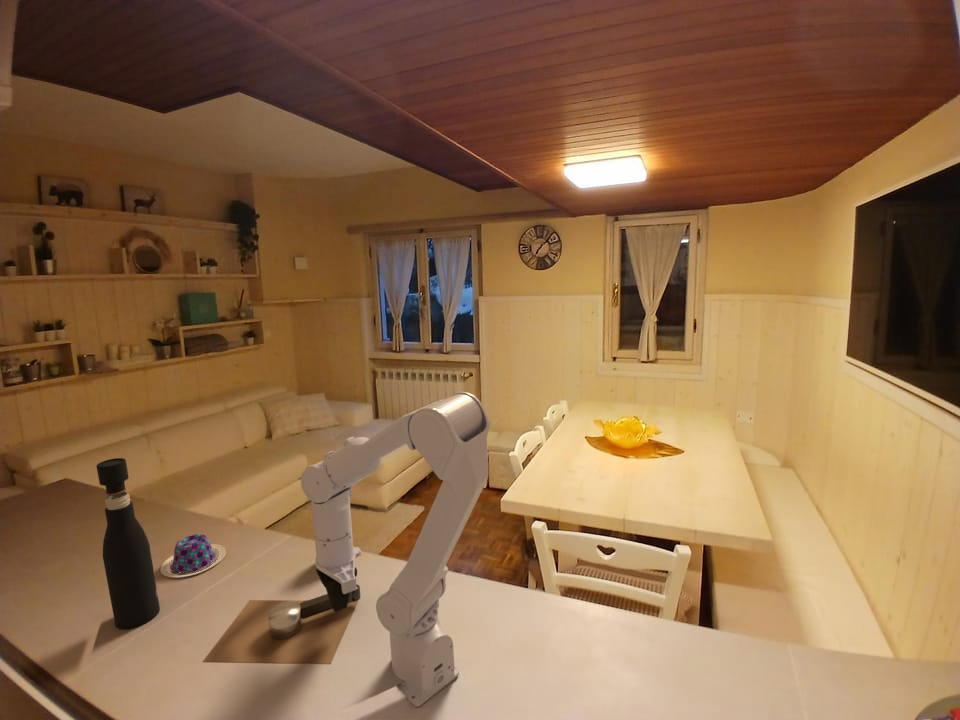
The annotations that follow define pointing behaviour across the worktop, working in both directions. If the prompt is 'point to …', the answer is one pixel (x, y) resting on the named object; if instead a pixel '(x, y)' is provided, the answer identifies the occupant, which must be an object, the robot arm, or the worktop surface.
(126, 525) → the black water bottle
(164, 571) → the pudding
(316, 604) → the round-headed handle tool
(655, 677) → the worktop surface
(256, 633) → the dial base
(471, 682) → the worktop surface
